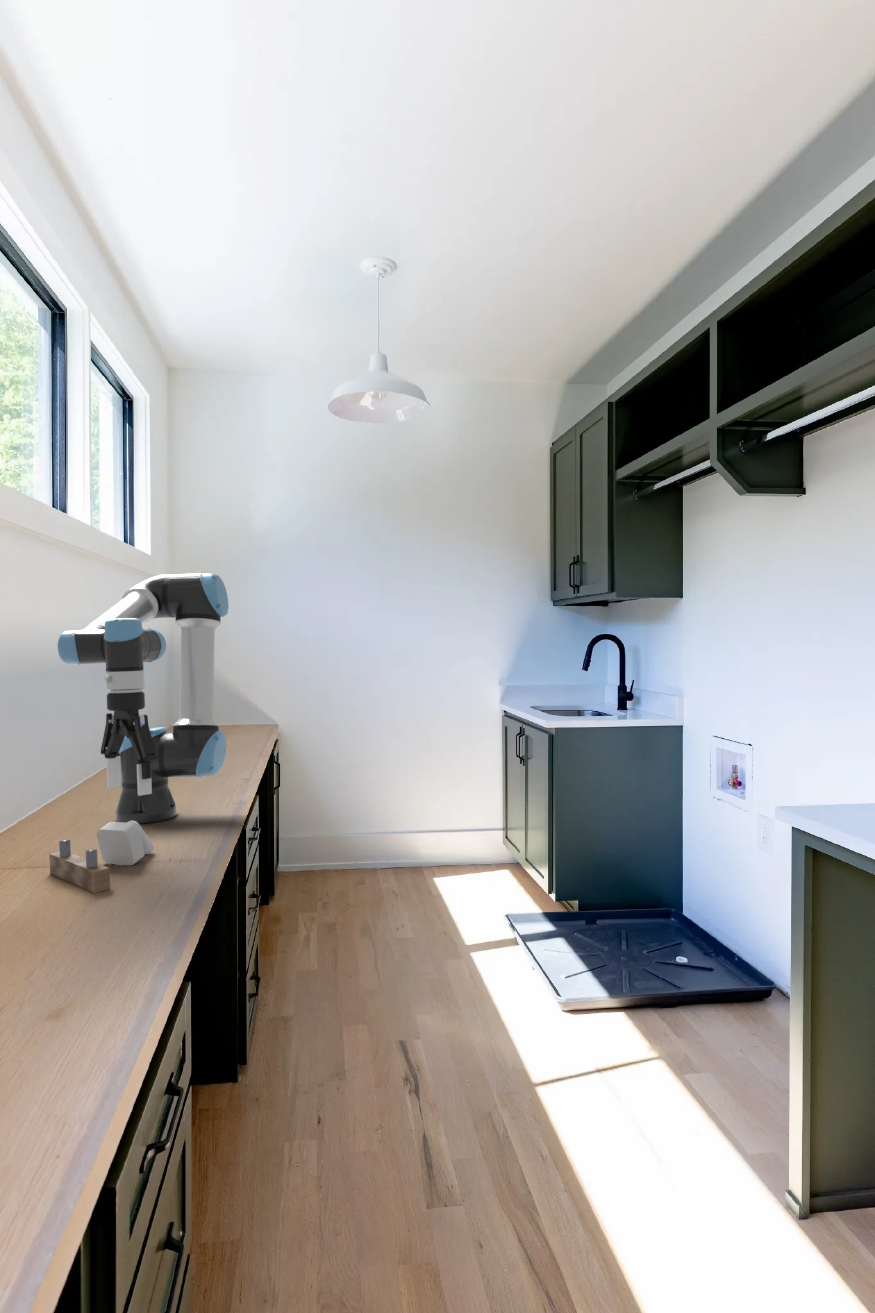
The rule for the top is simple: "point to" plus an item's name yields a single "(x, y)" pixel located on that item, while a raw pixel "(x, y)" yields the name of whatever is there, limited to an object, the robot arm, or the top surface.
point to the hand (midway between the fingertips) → (129, 791)
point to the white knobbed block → (123, 843)
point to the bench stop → (79, 868)
